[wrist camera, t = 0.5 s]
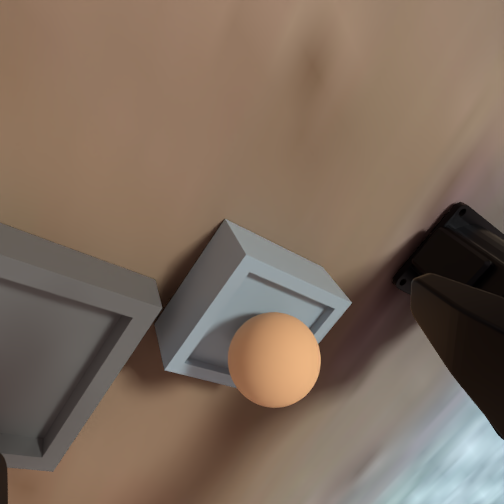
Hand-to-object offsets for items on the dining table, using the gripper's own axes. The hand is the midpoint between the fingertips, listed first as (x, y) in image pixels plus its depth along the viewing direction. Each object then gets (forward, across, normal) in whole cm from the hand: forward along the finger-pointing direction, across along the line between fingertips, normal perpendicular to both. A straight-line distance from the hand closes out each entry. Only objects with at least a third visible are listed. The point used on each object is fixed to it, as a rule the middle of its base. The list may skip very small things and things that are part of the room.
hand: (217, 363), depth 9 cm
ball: (+8, -3, +9) cm, 13 cm away
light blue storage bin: (+13, -2, +9) cm, 16 cm away
